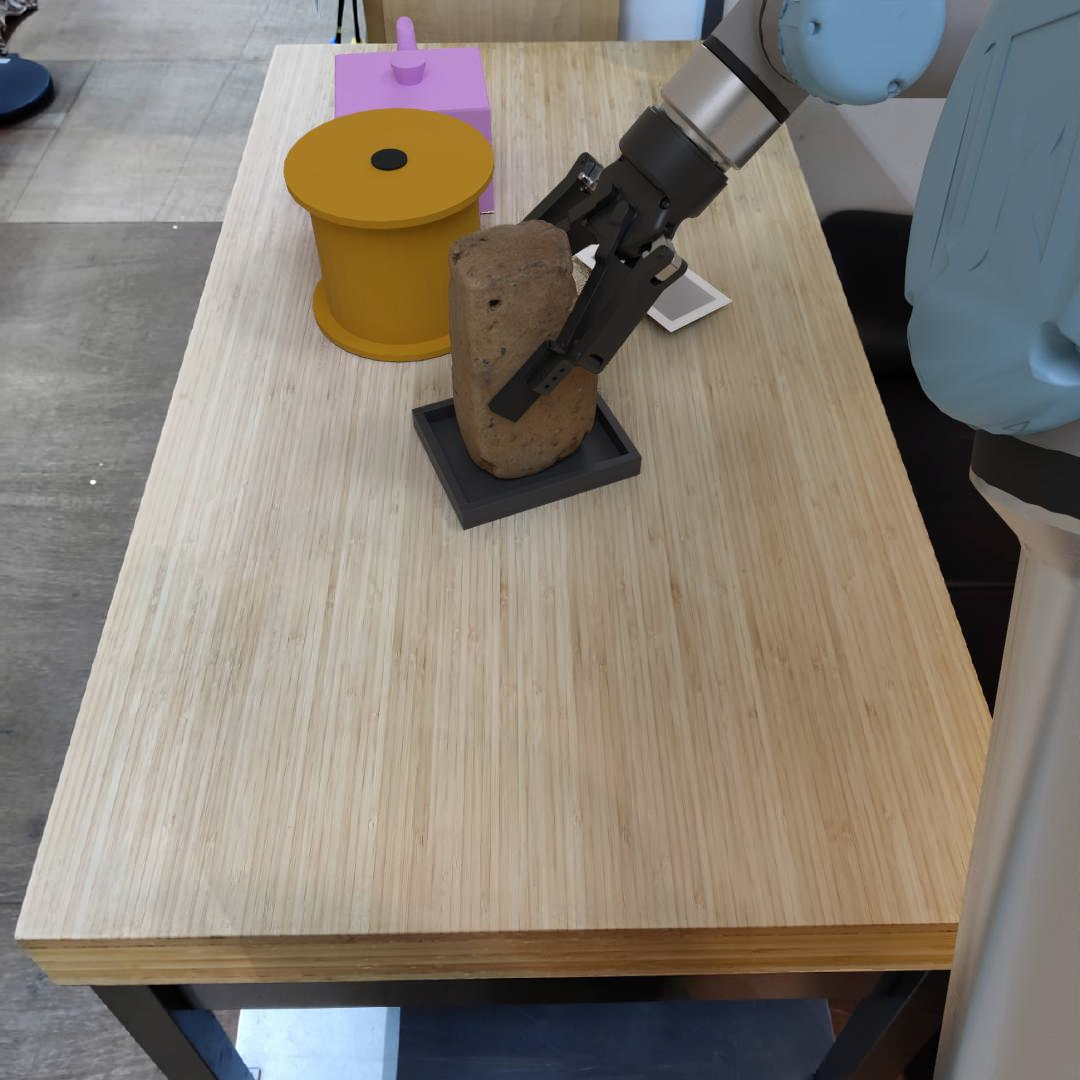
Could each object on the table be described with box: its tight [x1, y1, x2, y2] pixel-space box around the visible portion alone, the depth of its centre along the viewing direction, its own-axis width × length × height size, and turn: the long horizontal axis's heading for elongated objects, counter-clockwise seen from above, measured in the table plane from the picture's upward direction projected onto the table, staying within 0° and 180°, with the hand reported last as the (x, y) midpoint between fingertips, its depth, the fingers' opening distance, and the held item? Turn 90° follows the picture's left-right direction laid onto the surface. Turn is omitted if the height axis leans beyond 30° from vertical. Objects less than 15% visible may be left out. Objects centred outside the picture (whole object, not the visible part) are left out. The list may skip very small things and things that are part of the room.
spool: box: [282, 108, 496, 363], centre depth 90 cm, size 18×18×15 cm
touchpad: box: [574, 245, 733, 333], centre depth 97 cm, size 8×15×2 cm, turn 36°
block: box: [448, 220, 599, 479], centre depth 75 cm, size 11×8×20 cm
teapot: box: [333, 15, 495, 213], centre depth 104 cm, size 15×25×14 cm, turn 7°
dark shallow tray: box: [411, 391, 643, 531], centre depth 83 cm, size 13×16×2 cm
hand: (482, 379), depth 75 cm, fingers closed on block, 7 cm apart
